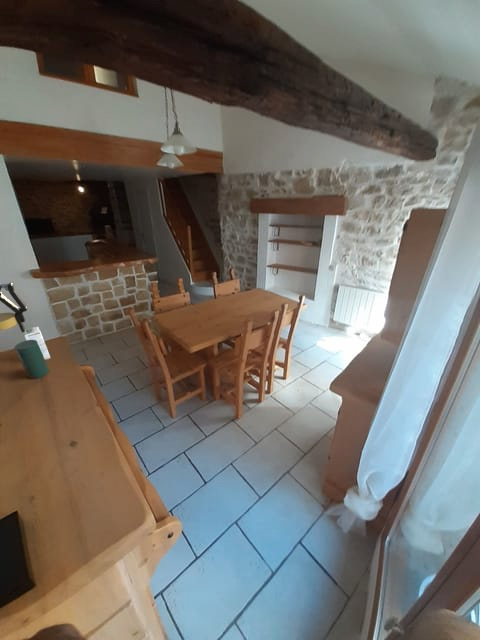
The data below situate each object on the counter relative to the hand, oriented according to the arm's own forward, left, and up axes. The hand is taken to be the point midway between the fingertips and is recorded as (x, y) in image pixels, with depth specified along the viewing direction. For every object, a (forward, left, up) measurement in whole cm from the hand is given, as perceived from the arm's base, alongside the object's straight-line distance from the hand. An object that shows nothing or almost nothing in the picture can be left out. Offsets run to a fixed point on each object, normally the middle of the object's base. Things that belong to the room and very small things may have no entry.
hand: (6, 334), depth 86 cm
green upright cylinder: (0, +10, -24) cm, 26 cm away
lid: (0, 0, +6) cm, 6 cm away
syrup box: (-1, +23, -25) cm, 33 cm away
